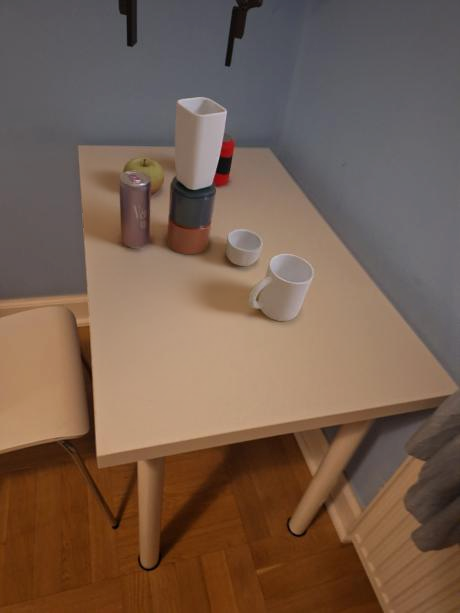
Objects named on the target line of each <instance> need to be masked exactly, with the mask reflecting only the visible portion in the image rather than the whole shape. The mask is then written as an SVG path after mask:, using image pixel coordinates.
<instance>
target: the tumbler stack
mask: <svg viewBox="0 0 460 613" xmlns="http://www.w3.org/2000/svg"><path fill="white" fill-rule="evenodd" d="M216 195H217V188H216V186H215V184H214V182H212V185H210V186H208V187H206V188H202V189H198V190H189V189H188V188H187V187H185V186H184V185H183V184H182V183H181V182H179V181H178V180H177V178H176V175H175V176H173V178H172V180H171V182H170V184H169V199H168V200H169V201H168V218H167V234H166V242H167V244H168V246H169V248H170V249H171V250H173V251H175V252H177V253H179V254H182V255H187V256H188V255H190V256H191V255H198V254H201V253H203V252H205V251H206V250H207V248H208V246H209V242H210V236H211V230H212V229H211V228H212V220H213V215H214V209H215V202H216Z"/></svg>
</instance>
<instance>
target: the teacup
mask: <svg viewBox="0 0 460 613" xmlns="http://www.w3.org/2000/svg"><path fill="white" fill-rule="evenodd" d="M263 245H264V244H263V239H262V237H261V236H260V235H259V234H258V233H257V232H254V231H253V230H250V229H246V228H235V229H233V230H231V231H229V233H228V235H227V237H226V242H225V253H226V256H227V259H228V260H229V261H230V262H231V263H233V264H234V265H236V266H240V267H249V266H251V265H253V264H254V263H256V261H257V260H258V259H259V257H260V256H261V252H262V249H263Z"/></svg>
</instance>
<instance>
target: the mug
mask: <svg viewBox="0 0 460 613" xmlns="http://www.w3.org/2000/svg"><path fill="white" fill-rule="evenodd" d="M314 276H315V271H314V268H313V266H312V265H311V264H310V262H308V260H306V259H304V258H303V257H301V256H299V255H295V254H291V253H280V254H276V255H275V256H273V257H271V259H270V261H269V263H268V267H267V271H266V274H265V277H264V278H262V279H261V280H260V281H258V282H257V283H256V284H255V285H254V286H253V288H252V289H251V291H250V292H249V294H248V304H249V306H250V307H251V308H253V309H257V310H261V312H262V313H263V314H264V316H266V317H268V318H269V319H271V320H274V321H279V322H287V321H290V320H293V319H294V318H296V317H297V315H298V314H299V312H300V310H301V308H302V306H303V303H304V300H305V298H306V295H307V293H308V291H309V288H310V287H311V286H310V285H311V283H312V281H313V278H314ZM258 295H259V297H258ZM257 297H258V300H257Z"/></svg>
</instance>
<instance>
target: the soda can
mask: <svg viewBox="0 0 460 613" xmlns="http://www.w3.org/2000/svg"><path fill="white" fill-rule="evenodd" d="M235 144H236V143H235V141H234V140H233V138H232V136H231V135H229V134H228V133H225V132H224V135H223V141H222V147H221V151H220V156H219V161H218V165H217V168H216V172H215V176H214V179H213V182H214V184H215V187H222V186H225V185H227V184H228V183H229V179H230V174H231V169H232V168H231V167H232V162H233V156H234V151H235Z"/></svg>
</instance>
